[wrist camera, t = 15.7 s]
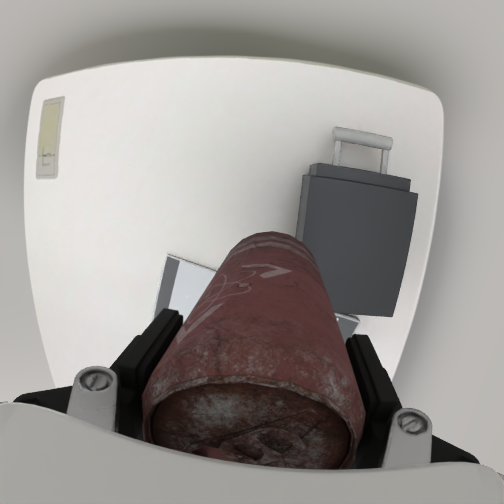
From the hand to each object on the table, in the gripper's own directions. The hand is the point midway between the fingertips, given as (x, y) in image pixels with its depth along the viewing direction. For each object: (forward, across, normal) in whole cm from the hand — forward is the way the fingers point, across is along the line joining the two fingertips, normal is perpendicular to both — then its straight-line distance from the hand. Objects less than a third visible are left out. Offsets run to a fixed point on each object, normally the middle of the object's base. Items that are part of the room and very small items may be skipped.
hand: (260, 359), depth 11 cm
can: (+9, 0, 0) cm, 9 cm away
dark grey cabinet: (+25, -8, -1) cm, 26 cm away
